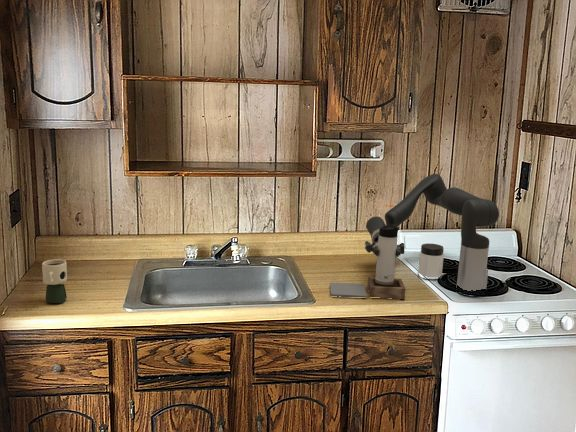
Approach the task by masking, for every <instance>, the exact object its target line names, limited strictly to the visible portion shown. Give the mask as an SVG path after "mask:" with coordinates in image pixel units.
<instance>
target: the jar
mask: <svg viewBox="0 0 576 432" xmlns="http://www.w3.org/2000/svg"><path fill="white" fill-rule="evenodd" d="M420 247H421V248H420V252H419V257H418V258H419V259H418V269H417V270H418V271H417V274H418V273H420V274H422V275H424V276H427V277H439V276H441V275H442V276H443V265H444V258H445V257H444V255H445V254H444V246H443V245H440V244H437V243H423V244H421V246H420Z"/></svg>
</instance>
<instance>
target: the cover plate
mask: <svg viewBox="0 0 576 432" xmlns="http://www.w3.org/2000/svg"><path fill="white" fill-rule="evenodd" d="M329 289H330V290H329V291H330V292H331V294H330V297H331V296H337V297H339V296H341V297H367V298H368V295H367V290H366V286H365V284H364V283H353V282H352V283H350V282H329Z"/></svg>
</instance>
